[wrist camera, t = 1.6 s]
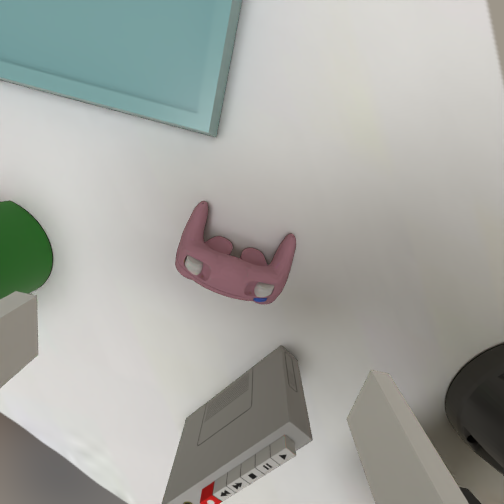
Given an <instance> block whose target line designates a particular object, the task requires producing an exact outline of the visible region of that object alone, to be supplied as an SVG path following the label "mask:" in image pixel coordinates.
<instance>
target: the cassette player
mask: <svg viewBox="0 0 504 504" xmlns="http://www.w3.org/2000/svg"><path fill="white" fill-rule="evenodd" d="M312 440H313V439H312V434H311V429H310V423H309V418H308V413H307V408H306V402H305V397H304V392H303V387H302V381H301V376H300V371H299V366H298V360H297V359H296V358H294V357H293V356H292V355H291V354H290V353H289V352H288V351H287V350H286V349H285V348H283V347H282V346H279V347H278V348H277V349H275V350H274V351H273V352H272V353H270V354H269V355H268V356H266V357H265V358H264V359H263V360H261V361H260V362H259V363H257V364H256V365H255V366H253V367H252V368H251V369H250V370H248V371H247V372H246V373H244V374H243V375H242V376H241V377H239V378H238V379H237V380H235V381H234V382H233V383H231V384H230V385H229V386H228V387H226V388H225V389H224V390H222V391H221V392H220V393H218V394H217V395H216V396H215V397H213V398H212V399H211V400H209V401H208V402H207V403H206V404H204V405H203V406H202V407H200V408H199V409H198V410H196V411H195V412H194V413H193V414H191V415H190V416H189V417H187V418H186V421H185V425H184V428H183V432H182V435H181V439H180V442H179V446H178V449H177V453H176V456H175V459H174V463H173V466H172V470H171V473H170V477H169V480H168V484H167V487H166V491H165V494H164V497H163V501H162V504H219V503H221V502H223V501H224V500H226V499H227V498H229V497H231V496H232V495H234V494H235V493H237V492H239V491H240V490H242V489H243V488H245V487H247V486H248V485H250V484H251V483H253V482H255V481H256V480H258V479H259V478H261V477H263V476H264V475H266V474H267V473H269V472H271V471H272V470H274V469H275V468H277V467H279V466H280V465H282V464H283V463H285V462H287V461H288V460H290V459H291V458H293V457H295V456H296V450H298V449H300V448H301V447H303V446H304V445H306V444H308V443H309V442H311V441H312Z"/></svg>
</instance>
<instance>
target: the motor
mask: <svg viewBox="0 0 504 504" xmlns="http://www.w3.org/2000/svg"><path fill="white" fill-rule="evenodd" d="M51 268H52V251H51V247H50V243H49V241H48V238H47V236H46V234H45V232H44V231H43V229H42V228H41V226H40V225H39V224H38V222H37V221H36V220H35V219H34V218H33V217H32V216H31V215H30V214H29V213H28V212H27V211H26V210H24V209H23V208H21V207H20V206H18V205H17V204H15V203H13V202H11V201H4V202H0V299H2V298H4V297H6V296H8V295H10V294H11V293H13V292H15V291H18V292H22V293H27V294H29V293H31V292H32V291H34V290H36V289H38V288H39V287H40V286H42V285H43V284H44V283H45V281H46V280H47V278H48V277H49V274H50V272H51Z"/></svg>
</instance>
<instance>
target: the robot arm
mask: <svg viewBox="0 0 504 504" xmlns="http://www.w3.org/2000/svg"><path fill="white" fill-rule="evenodd" d="M37 355H38V320H37V296H36V295H31V294H27V293H22V292H18V291H15V292H13V293H11V294H10V295H8V296H6V297H4V298H2V299H0V388H1V387H2V386H3V385H4V384H6V383H7V382H8V381H9V380H10V379H11V378H12V377H13V376H15V375H16V374H17V373H18V372H19V371H20V370H21V369H23V368H24V367H25V366H26V365H27V364H28V363H29V362H30V361H32V360H33V359H34V358H35V357H36V356H37ZM446 413H447V416H448V419H449V421H450V423H451V424H452V426H453V427H454V428H455V430H456V431H457V432H458V434H459V435H460V436H461V438H462V439H463V440H464V442H465V443H466V444H467V445H468V446H469V447H470V448H471V449H472V450H473V451H474V452H476V453H477V454H478V455H479V456H480V457H482V458H483V459H484V460H485V461H486V462H488V463H489V464H490V465H491V466H492V467H494V468H495V469H496V470H497V471H499V472H500V473H501V474H502V475H503V476H504V344H503V345H500V346H497V347H495V348H493V349H491V350H489V351H487V352H485V353H483V354H481V355H480V356H478V357H477V358H475V359H474V360H473V361H471V362H470V363H469V364H468V365H467V366H465V367H464V368H463V369H462V370H461V372H460V373H459V374H458V375H457V376H456V378H455V379H454V381H453V382H452V384H451V386H450V388H449V391H448V393H447V397H446ZM347 422H348V425H349V428H350V431H351V434H352V436H353V439H354V442H355V445H356V448H357V451H358V454H359V457H360V460H361V463H362V466H363V469H364V472H365V474H366V477H367V480H368V483H369V486H370V489H371V492H372V495H373V498H374V501H375V504H481V503H480V502H479V501H478V500H477V499H476V497H475V496H474V495H473V494H472V493H471V492H470V491H469V490H468V489H466V488H461V487H458V485H457V483H456V482H455V480H454V479H453V477H452V475H451V474H450V472H449V470H448V469H447V467H446V466H445V464H444V462H443V461H442V459H441V457H440V456H439V454H438V453H437V451H436V449H435V448H434V446H433V444H432V443H431V441H430V440H429V438H428V436H427V435H426V433H425V431H424V430H423V428H422V427H421V425H420V423H419V422H418V420H417V418H416V417H415V415H414V414H413V412H412V410H411V409H410V407H409V405H408V404H407V402H406V401H405V399H404V397H403V396H402V394H401V392H400V391H399V389H398V388H397V386H396V384H395V383H394V381H393V379H392V378H391V376H390V375H389V374H388V373H383V372H379V371H374V370H371V371H370V373H369V375H368V377H367V379H366V381H365V383H364V385H363V387H362V389H361V391H360V393H359V395H358V397H357V399H356V401H355V403H354V405H353V407H352V409H351V411H350V413H349V415H348V417H347Z"/></svg>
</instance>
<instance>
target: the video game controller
mask: <svg viewBox="0 0 504 504" xmlns="http://www.w3.org/2000/svg"><path fill="white" fill-rule="evenodd" d="M207 215H208V204H207V202H205V201H202V202H200V203H199V204H198V205H197V206H196V207H195V209H194V210H193V212H192V214H191V216H190V218H189V220H188V222H187V224H186V226H185V228H184V231H183V233H182V236H181V240H180V243H179V246H178V249H177V253H176V262H175V265H176V268H177V270H178V271H179V272H180V274H181V275H183V276H184V277H186V278H188V279H191V280H194V281H195V282H196V283H198V284H200V285H201V286H203V287H205V288H207V289H209V290H211V291H213V292H216V293H218V294H221V295H224V296H227V297H231V298H234V299H240V300H246V301H254V302H256V303H258V304H269V303H272V302H273V301H274V300H275V299H276V298H277V297H278V295H279V294H280V293H281V292H282V290H283V288H284V286H285V284H286V281H287V278H288V275H289V272H290V268H291V264H292V261H293V256H294V252H295V248H296V239H295V236H294V235H293V234H288V235H287V236H286V237H285V239H284V240H283V241H282V242H281V244H280V246H279V248H278V249H277V251H276V253H275V255H274V257H273V259H272V262H271V263H270V264H269V265H268V264H267V263H266V260H265V257H264V255H263V254H262V252H260V251H259V250H257V249H254V248H247V249H244V250H243V252H242V254H241V256H240V259H239V258H237V257H234V256H230V254H231V252H232V249H233V246H232V243H231V242H230V241H229V240H228V239H226V238H224V237H220V236H216V237H213V238H211V239H210V240H208V241H206V242H204V240H203V234H204V228H205V224H206V220H207Z"/></svg>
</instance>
